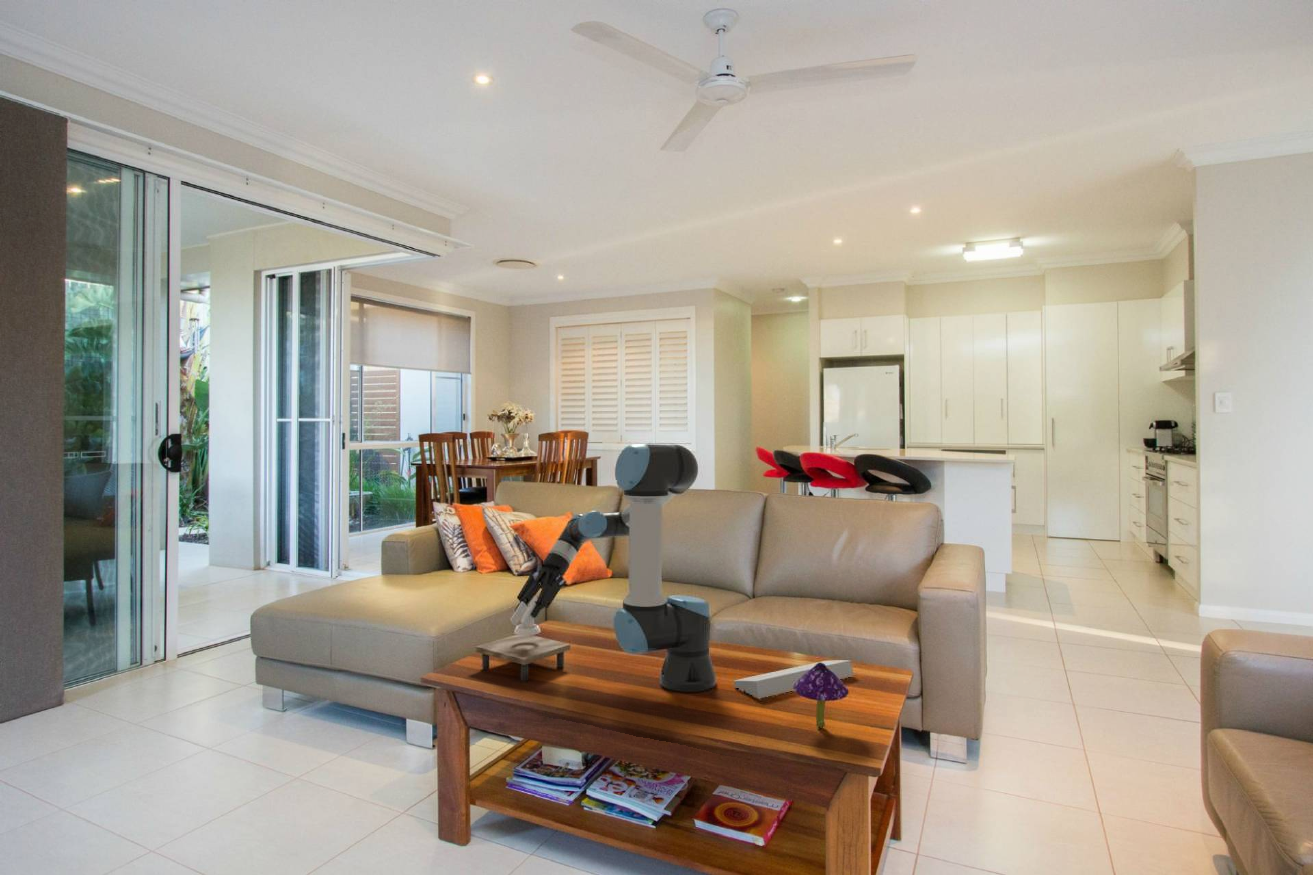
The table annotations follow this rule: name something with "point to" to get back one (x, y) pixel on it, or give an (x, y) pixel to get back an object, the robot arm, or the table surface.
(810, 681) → the decorative mushroom
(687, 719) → the table surface
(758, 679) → the decorative molding
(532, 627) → the white ring with handle
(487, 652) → the small wooden table
